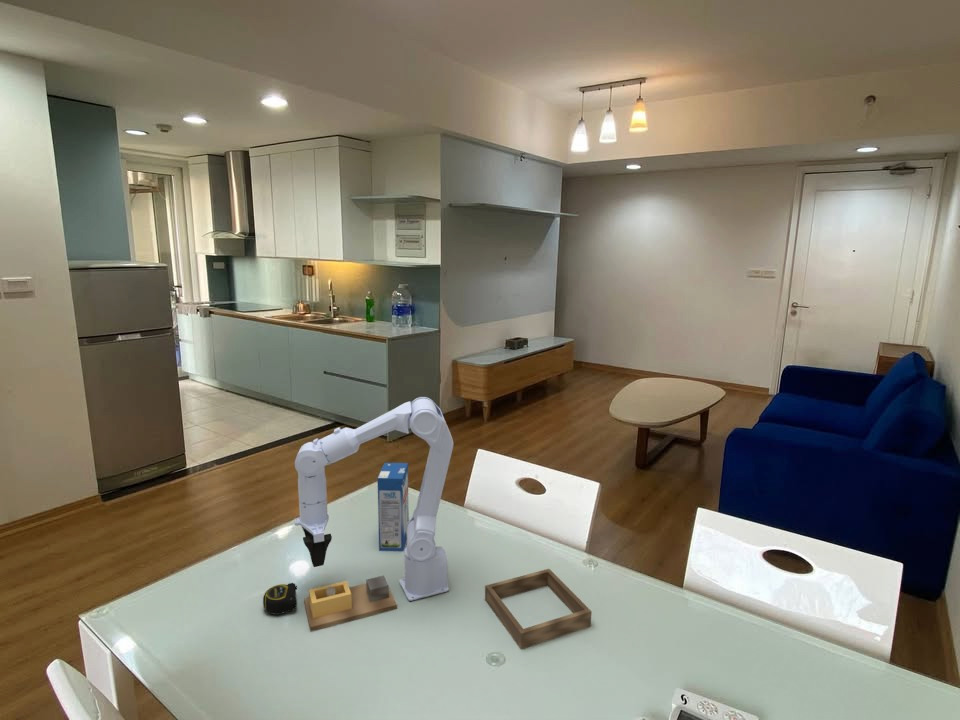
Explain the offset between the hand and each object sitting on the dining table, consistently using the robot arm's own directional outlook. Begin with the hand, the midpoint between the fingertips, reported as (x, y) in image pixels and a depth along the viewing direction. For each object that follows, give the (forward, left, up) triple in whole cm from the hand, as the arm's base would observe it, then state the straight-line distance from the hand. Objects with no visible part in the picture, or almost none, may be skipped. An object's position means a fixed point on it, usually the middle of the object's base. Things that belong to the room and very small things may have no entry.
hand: (315, 556), depth 118 cm
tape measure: (+7, 0, -10) cm, 13 cm away
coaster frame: (-42, +24, -10) cm, 49 cm away
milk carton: (-22, -16, -10) cm, 29 cm away
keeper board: (-6, +6, -10) cm, 13 cm away
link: (-2, +6, -9) cm, 11 cm away
